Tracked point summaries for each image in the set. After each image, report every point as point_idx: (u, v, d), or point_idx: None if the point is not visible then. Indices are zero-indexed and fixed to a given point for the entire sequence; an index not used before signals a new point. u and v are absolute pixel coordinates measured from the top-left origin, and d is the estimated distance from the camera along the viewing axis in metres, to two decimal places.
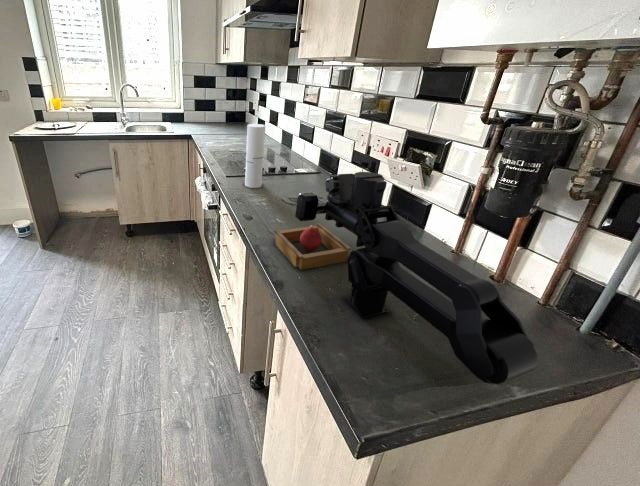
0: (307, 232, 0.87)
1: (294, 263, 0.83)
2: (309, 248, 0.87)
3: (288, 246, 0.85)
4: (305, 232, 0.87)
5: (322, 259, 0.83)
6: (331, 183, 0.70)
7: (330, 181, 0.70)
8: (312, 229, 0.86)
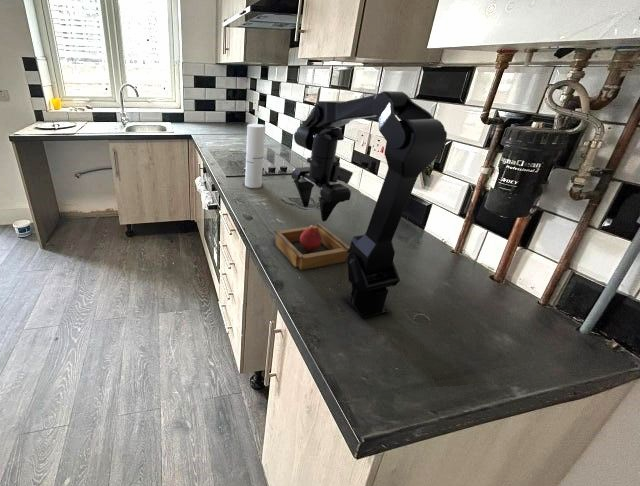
0: (307, 232, 0.87)
1: (294, 263, 0.83)
2: (309, 248, 0.87)
3: (288, 246, 0.85)
4: (305, 232, 0.87)
5: (322, 259, 0.83)
6: None
7: None
8: (312, 229, 0.86)
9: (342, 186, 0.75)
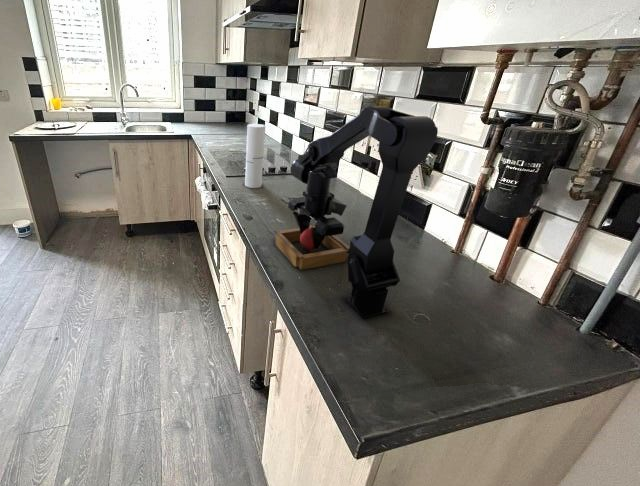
0: (307, 232, 0.87)
1: (294, 263, 0.83)
2: (309, 248, 0.87)
3: (288, 246, 0.85)
4: (305, 232, 0.87)
5: (322, 259, 0.83)
6: None
7: None
8: None
9: (336, 220, 0.79)
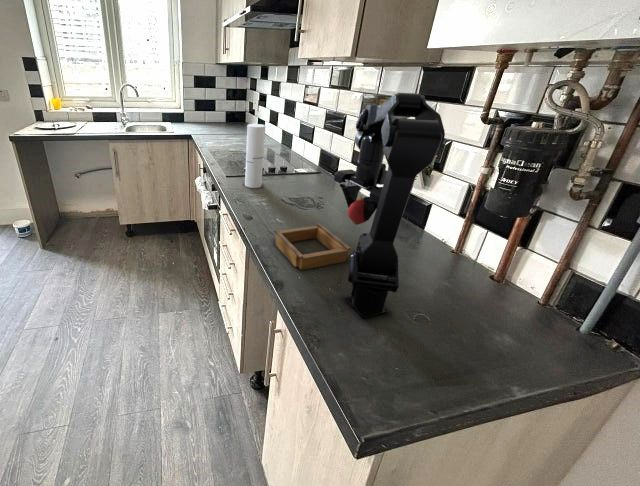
0: (357, 203, 0.84)
1: (294, 263, 0.83)
2: (359, 220, 0.84)
3: (288, 246, 0.85)
4: (354, 204, 0.84)
5: (322, 259, 0.83)
6: None
7: None
8: (362, 200, 0.84)
9: None
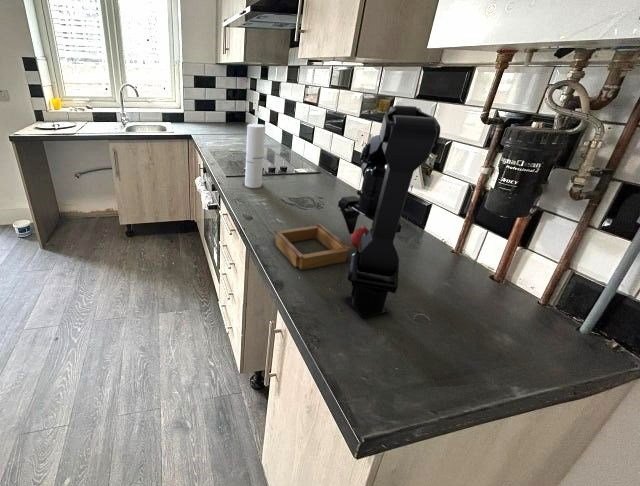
0: (359, 232, 0.88)
1: (294, 263, 0.83)
2: None
3: (288, 246, 0.85)
4: (357, 232, 0.88)
5: (322, 259, 0.83)
6: None
7: None
8: (364, 229, 0.87)
9: None
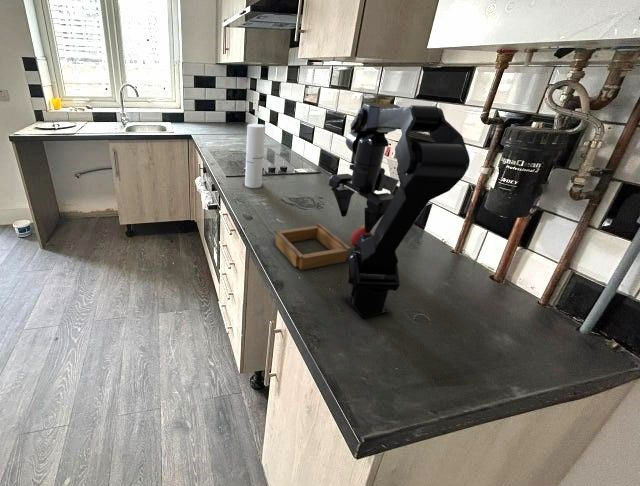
0: (359, 232, 0.88)
1: (294, 263, 0.83)
2: None
3: (288, 246, 0.85)
4: (357, 232, 0.88)
5: (322, 259, 0.83)
6: None
7: None
8: (364, 229, 0.87)
9: (391, 196, 0.69)
